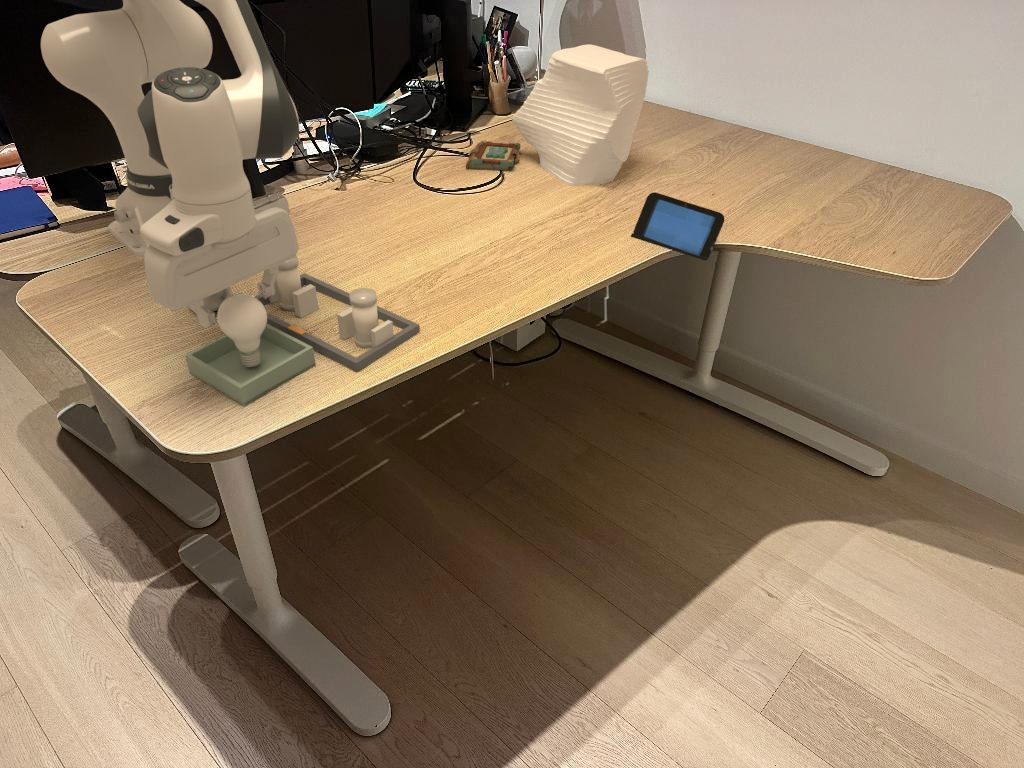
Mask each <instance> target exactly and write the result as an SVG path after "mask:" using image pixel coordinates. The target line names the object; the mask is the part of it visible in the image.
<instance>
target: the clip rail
mask: <svg viewBox="0 0 1024 768" xmlns="http://www.w3.org/2000/svg"><path fill="white" fill-rule="evenodd" d="M300 280H301V286H302V288H301V289H299V290H297V291H295V292H293V293H292V295H293V301H294V307H295V310H294V311H295V316H297V317H298V318H300V319H302V318H304V317H306V316H308V315H310V314H311V313H313V312H316V311H317V310H319V309H320V308H319V307H320V306H319V301H318V296H317V295H318V294H317V292H319V293H321V294H323V295H326V296H328V297H329V298H333V299H334V300H336V301H339V302H342V303H343V304H346V305H348V306H350V307H348V308H346V309H344V310H342V311H340V312H338V313H337V314H336V318H337V325H338V332H339V338H341V339H343V340H348V339H349V338H351V337H353V336H355V332H354V324H353V316H352V308H351V303H350V297H349V294H350V293H351V292H350V293H349V292H347V291H345V290H342V289H341V288H338V287H336V286H334V285H332V284H330V283H327V282H325V281H324V280H323V281H322V280H321V279H319V278H316V277H314V276H312V275H309V274H307V273H305V272H304V273H302V274H300ZM274 289H275V295H273V296H271V297H269V298H267V299H265V298H264V297H261V296H260V295H259V294H258V295H255V296H254V297H255V298H257V299H258V300H259V301H260V302H261V303H262V304H263V305H264V306H265V305H268V304H269V303H270V304H274V303H276V302H278V301H280V297H279V291H278V286H277V281H275V284H274ZM377 314H378V320H379V319H380V320H382V321H384V322H382V323H381V324H379V326H377V327H375V328H374V329H372V330H371V338H372V348H369V349H368V350H366V351H365V352H363V353H362V354H360V355H358V356H354V355H353V354H350V353H348V352H346V351H344V350H342V349H340V348H338V347H336V346H334V345H332V344H330V343H328V342H326V341H325V340H323V339H320V338H318V337H316V336H315V335H312V334H311V333H309V332H307V330H305V329H303V328H301V327H298V326H297V325H294V324H291V323H288V322H287V321H284V320H282V319H280V318H279V317H277V316H274V315H272V314H271V313H268V312H267V324H269V325H271V326H273V327H275V328H277V329H278V330H280V331H282V332H284V333H286V334H288V335H290V336H292V337H294V338H296V339H298V340H300V341H302V342H304V343H306V344H308V345H310V346H312V347H313V351H316V352H317V353H320V354H321V355H324V356H326V357H328V358H330V359H332V360H333V361H335V362H336V363H339V364H341V365H343V366H345V367H346V368H348V369H350V370H353V371H354V372H356V373H358V372H359V371H361V370H363V369H364V368H366V367H368V366H369V365H371V364H373V363H374V362H376V361H377V360H379V359H381V358H382V357H383V356H385V355H387V354H388V353H390V352H391V351H392V350H394V349H395V348H397V347H399V346H400V345H401V344H403V343H405V342H406V341H408V340H409V339H411V338H412V337H414V336H416V335H417V334H419V333H420V329H421V328H420V327H421V326H420V324H419V323H417V322H414V321H411V320H409V319H407V318H405V317H403V316H401V315H398V314H396V313H394V312H393V311H389V310H387V309H385V308H384V307H380V306H379V305H377ZM393 326H395V327H397V328H399V329H402V330H400V331H398V332H396V333H395V334H394V327H393Z"/></svg>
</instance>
